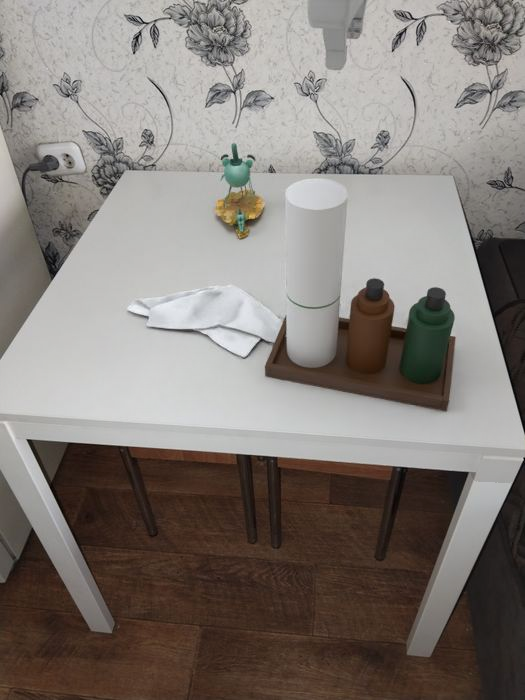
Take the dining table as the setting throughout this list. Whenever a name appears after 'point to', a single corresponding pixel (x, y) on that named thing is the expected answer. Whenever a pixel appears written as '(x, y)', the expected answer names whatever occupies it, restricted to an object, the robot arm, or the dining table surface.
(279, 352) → the tray
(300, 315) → the cylindrical container
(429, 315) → the green bottle
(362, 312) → the brown bottle
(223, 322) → the cloth
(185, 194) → the dining table surface
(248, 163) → the frog figurine
